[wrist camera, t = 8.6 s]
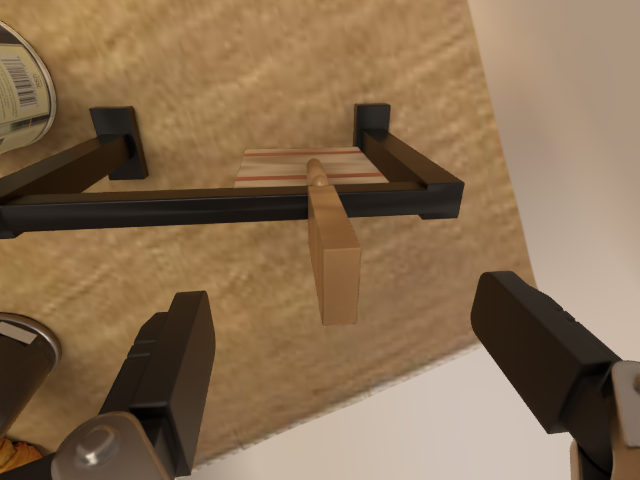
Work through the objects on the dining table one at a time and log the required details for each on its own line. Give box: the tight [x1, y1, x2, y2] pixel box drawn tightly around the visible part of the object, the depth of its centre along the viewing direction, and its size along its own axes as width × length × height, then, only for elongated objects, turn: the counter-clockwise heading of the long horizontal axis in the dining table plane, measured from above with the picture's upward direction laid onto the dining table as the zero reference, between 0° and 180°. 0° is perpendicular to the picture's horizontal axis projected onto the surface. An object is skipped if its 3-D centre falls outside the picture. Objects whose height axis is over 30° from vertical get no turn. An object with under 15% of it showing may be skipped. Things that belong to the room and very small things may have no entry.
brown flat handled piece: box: [233, 147, 390, 326], centre depth 20 cm, size 9×4×19 cm, turn 90°
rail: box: [0, 103, 465, 239], centre depth 24 cm, size 25×6×17 cm, turn 90°
